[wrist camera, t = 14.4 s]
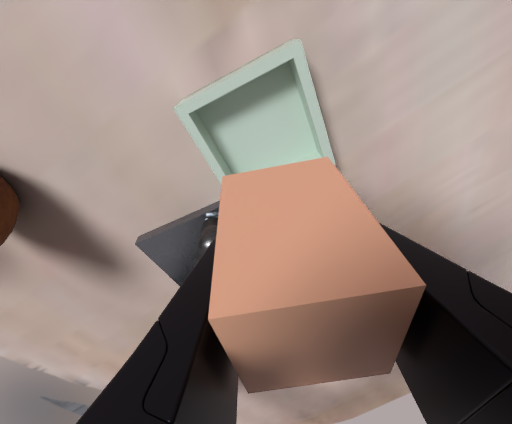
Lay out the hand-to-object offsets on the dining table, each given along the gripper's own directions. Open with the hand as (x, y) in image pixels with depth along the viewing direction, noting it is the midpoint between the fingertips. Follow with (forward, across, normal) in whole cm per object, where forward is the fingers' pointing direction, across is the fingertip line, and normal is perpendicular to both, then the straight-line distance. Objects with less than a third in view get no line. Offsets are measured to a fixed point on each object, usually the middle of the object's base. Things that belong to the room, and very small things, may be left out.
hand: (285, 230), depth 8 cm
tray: (+11, 0, 0) cm, 11 cm away
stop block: (+1, 0, 0) cm, 1 cm away
